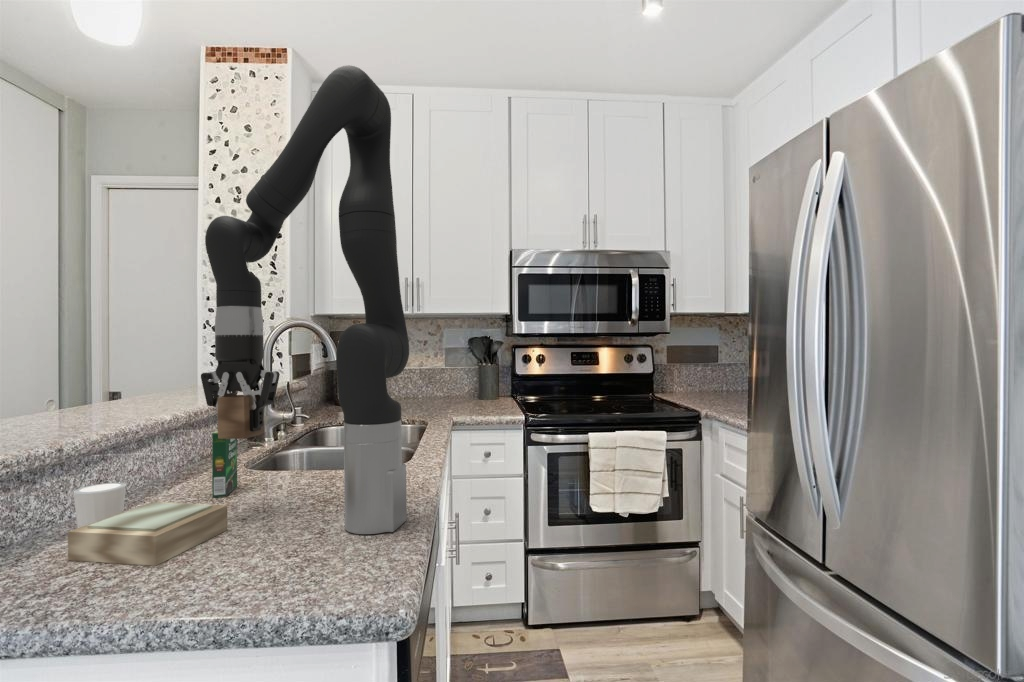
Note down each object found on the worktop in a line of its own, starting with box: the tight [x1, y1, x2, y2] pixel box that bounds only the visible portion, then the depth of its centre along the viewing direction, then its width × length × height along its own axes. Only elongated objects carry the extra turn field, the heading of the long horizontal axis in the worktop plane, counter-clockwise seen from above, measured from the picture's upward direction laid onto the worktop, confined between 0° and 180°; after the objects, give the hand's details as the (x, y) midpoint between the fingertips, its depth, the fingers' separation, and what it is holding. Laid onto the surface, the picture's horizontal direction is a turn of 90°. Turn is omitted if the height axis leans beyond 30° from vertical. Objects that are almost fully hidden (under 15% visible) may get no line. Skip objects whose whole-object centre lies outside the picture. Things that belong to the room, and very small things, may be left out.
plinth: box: [67, 501, 228, 567], centre depth 79 cm, size 14×14×4 cm
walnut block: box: [217, 394, 264, 440], centre depth 91 cm, size 5×5×7 cm
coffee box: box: [211, 429, 238, 498], centre depth 107 cm, size 8×3×13 cm, turn 13°
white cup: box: [73, 482, 127, 528], centre depth 85 cm, size 7×7×7 cm
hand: (240, 430), depth 91 cm, fingers closed on walnut block, 5 cm apart
